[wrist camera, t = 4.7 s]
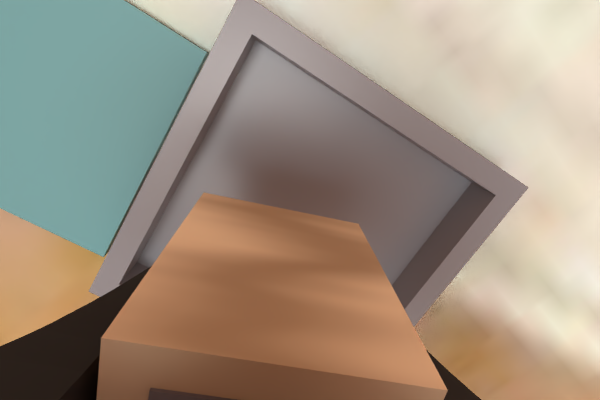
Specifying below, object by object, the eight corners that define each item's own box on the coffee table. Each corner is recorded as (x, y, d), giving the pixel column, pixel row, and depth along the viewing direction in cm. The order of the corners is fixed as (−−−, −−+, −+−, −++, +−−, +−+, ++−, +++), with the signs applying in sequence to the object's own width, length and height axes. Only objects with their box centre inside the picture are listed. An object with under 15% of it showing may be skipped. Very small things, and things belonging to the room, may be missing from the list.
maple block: (358, 223, 11) (449, 393, 5) (321, 348, 12) (357, 598, 6) (203, 192, 10) (99, 340, 4) (182, 326, 11) (80, 576, 6)
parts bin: (495, 173, 18) (528, 187, 16) (340, 371, 21) (347, 407, 19) (247, 5, 15) (241, -10, 13) (113, 264, 18) (88, 291, 16)
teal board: (209, 53, 16) (206, 52, 15) (107, 252, 18) (103, 256, 18) (-60, -116, 13) (-72, -124, 13) (-130, 138, 16) (-143, 140, 16)
